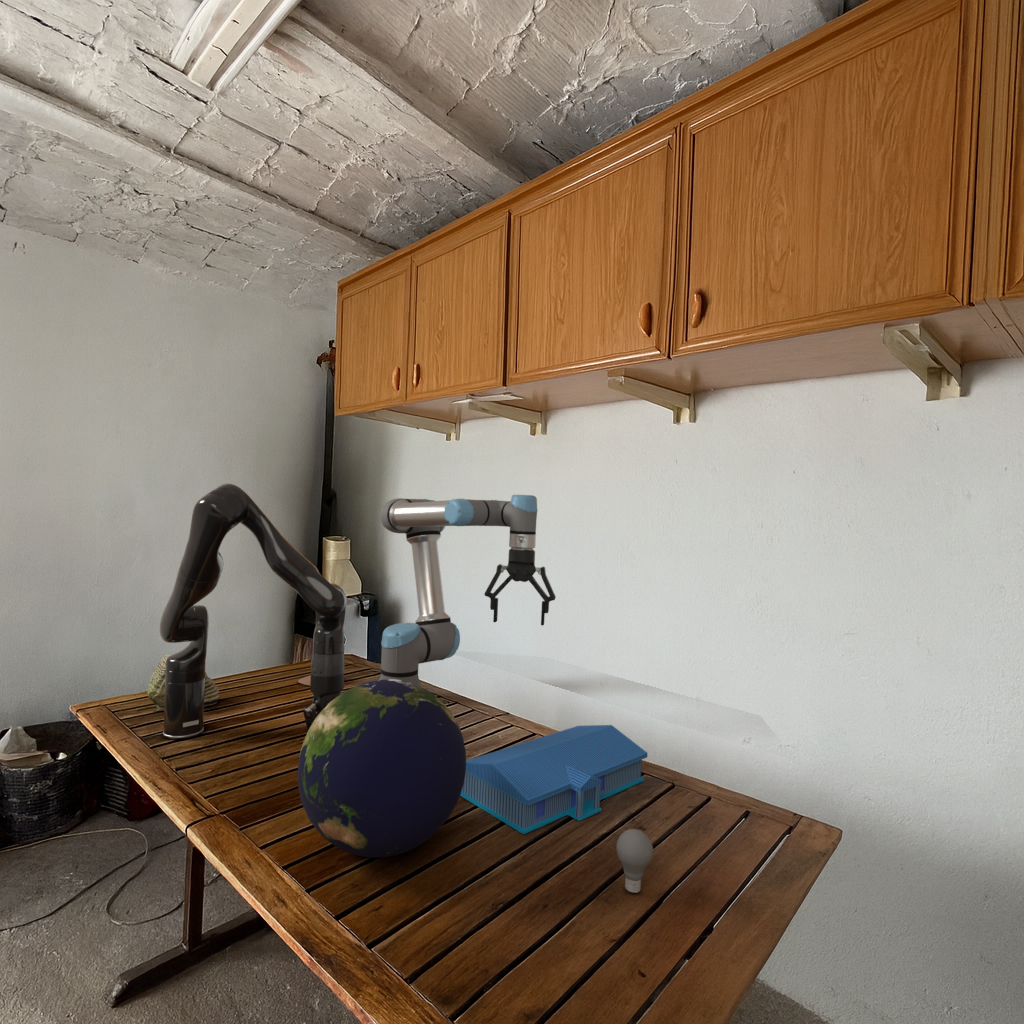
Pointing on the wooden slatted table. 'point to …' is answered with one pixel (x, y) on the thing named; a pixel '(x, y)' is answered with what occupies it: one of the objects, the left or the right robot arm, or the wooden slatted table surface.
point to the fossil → (158, 687)
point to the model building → (553, 776)
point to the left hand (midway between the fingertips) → (324, 743)
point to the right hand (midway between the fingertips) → (518, 623)
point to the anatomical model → (305, 680)
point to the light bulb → (634, 857)
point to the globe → (381, 768)
